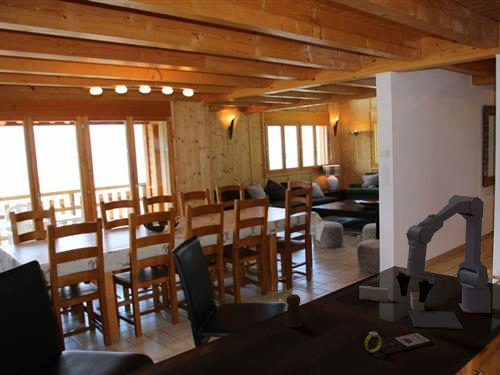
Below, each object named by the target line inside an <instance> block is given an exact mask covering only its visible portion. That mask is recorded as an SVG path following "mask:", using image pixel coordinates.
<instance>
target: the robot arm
mask: <svg viewBox="0 0 500 375" xmlns="http://www.w3.org/2000/svg"><path fill="white" fill-rule="evenodd" d="M484 203H485V202H484V201H483V200H482V199H481V198H480V197H479V196H467V195H466V196H465V195H458V194H454V195H453V196H451V197H450V198H449V199H448V203H447V204H446V205H445V206H444V207H442V209H441V210H440V211H438V212H437V213H431V214H428V215H427V216H426V218H424V219H423V220H422V221H420V222H419V223H418V224H417V225H416V224H414V225H411V226H410V227H409V228H408V230H407V231H406V234H405V235H406V238H407V245H408V254H407V265H406V266H407V267H406V268H400V267H398V268H397V267H396V275H395V279H396V280H397V284H399V291H400V295H401V296H400V297H407V295H408V291H409V290H408V289H409V284H410V281H411V279H415V280H418V282H417V284H418V287H419V288H418V289H419V290H418V292H419V302H420V303H424V304H425V302H426V300H427V297H428V295H429V293H430V291H431V289H432V288H433V287H434V284H436V277H433V276H431V275H428V274H425V268H426V259H427V258H426V257H427V248H428V244H429V243H431V242H432V238H433V237H434V235H435V233H437V232H438V231H439V230H441V229H442V228H443V227H444V222H446V221H447V220H449V219H450V218H452V217H453V216H455V215H456V214H457V215H460V216H461V217H462V218H464V220H465V238H464V239H465V242H464V260H463V261H462V262H460V263H459V264H458V269H457V272H456V280H457V281H458V282H459V285H460V286H461V303H458V305H459V307H460V308H461V310H462V311H463V313H481V314H482V313H483V314H491V313H492V300H491V299H492V298H491V297H492V295H491V290H490V288H489V286H488V284H489V280H490V277H489V274H488V267H486V265H485V264H484V263H482V261H481V257H482V256H481V255H482V254H481V253H482V233H483V232H482V230H483V229H482V228H483V218H484Z"/></svg>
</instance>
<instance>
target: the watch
mask: <svg viewBox="0 0 500 375" xmlns="http://www.w3.org/2000/svg"><path fill="white" fill-rule="evenodd" d="M372 338H378V339H377V340H379V342H378V346H377V347H376V348H375V347H374V348H373V349H370V348H369V342H370V340H371V339H372ZM382 339H383V338H382V337H381V335H380V334H379V333H378V332H377V331H369V332H368V335H367V336H366V337H365V340H364V348H365V350H366V351H368V352H369V353H370V354H372V353H375V352H380V351H379V349H380V348H381V346H382Z"/></svg>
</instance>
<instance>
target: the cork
mask: <svg viewBox="0 0 500 375" xmlns="http://www.w3.org/2000/svg"><path fill="white" fill-rule="evenodd" d="M285 300H286V304H287V311H286V323H285V325H286V326H287V327H288V328H292V329H293V328H295V329H297V328H301V327H302V326H303V325H304V324H303V319H302V318H303V317H302V313H301V308H300V304H301V301H302V300H301V297H300V295H298V294H295V293H294V294H292V293H291V294H289V295H287V296H286V299H285Z"/></svg>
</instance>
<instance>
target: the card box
mask: <svg viewBox="0 0 500 375" xmlns="http://www.w3.org/2000/svg"><path fill="white" fill-rule="evenodd" d="M409 299H410V300H409V301H410V302H409V303H410V308H411V309H412V311H425V302H424V303H420V302H419V291H418V292H416V291H415V292H413V291H412V292H410V293H409Z"/></svg>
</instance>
